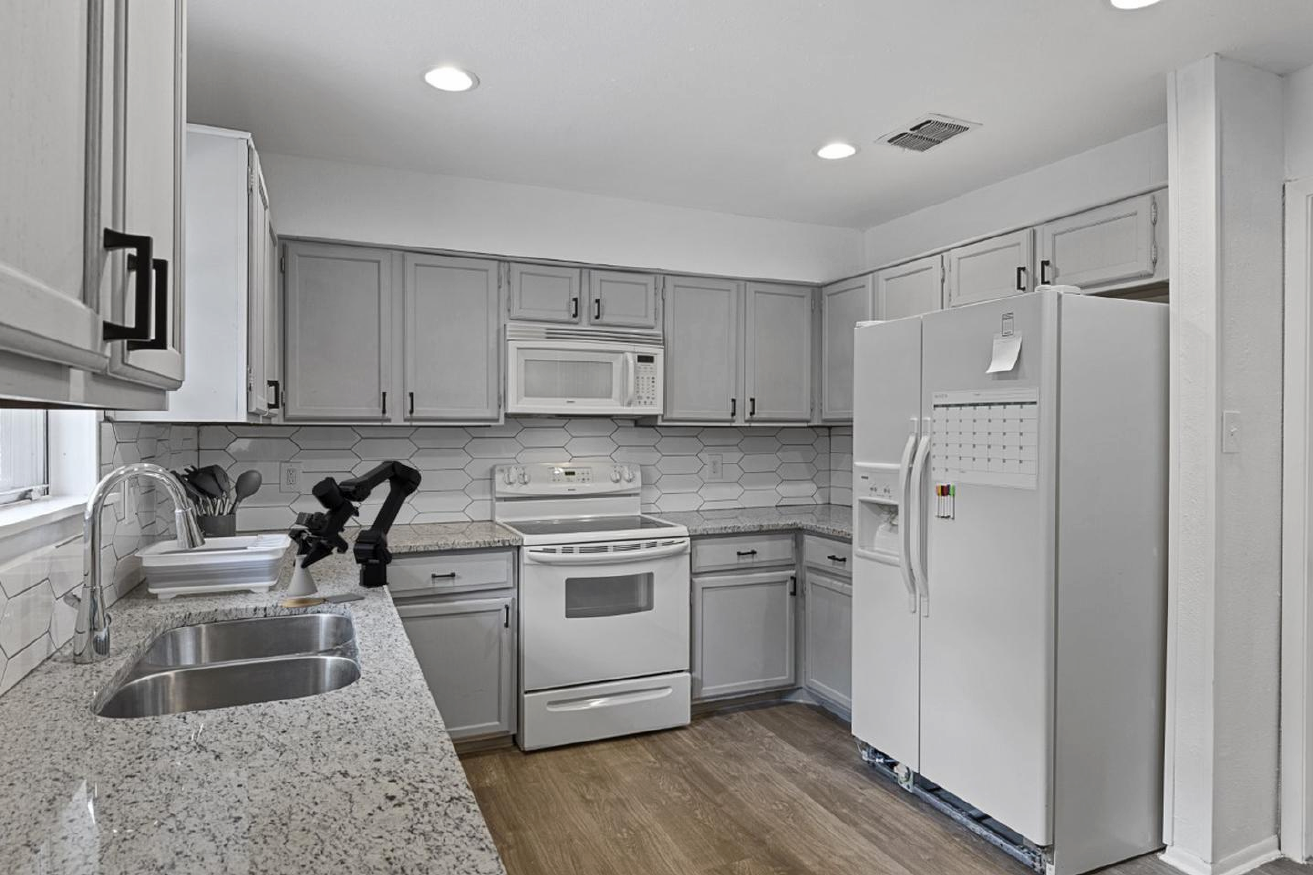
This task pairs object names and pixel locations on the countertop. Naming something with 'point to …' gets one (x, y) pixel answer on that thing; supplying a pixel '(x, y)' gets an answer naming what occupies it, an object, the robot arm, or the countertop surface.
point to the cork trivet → (302, 602)
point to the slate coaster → (343, 598)
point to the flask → (301, 580)
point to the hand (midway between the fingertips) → (297, 567)
